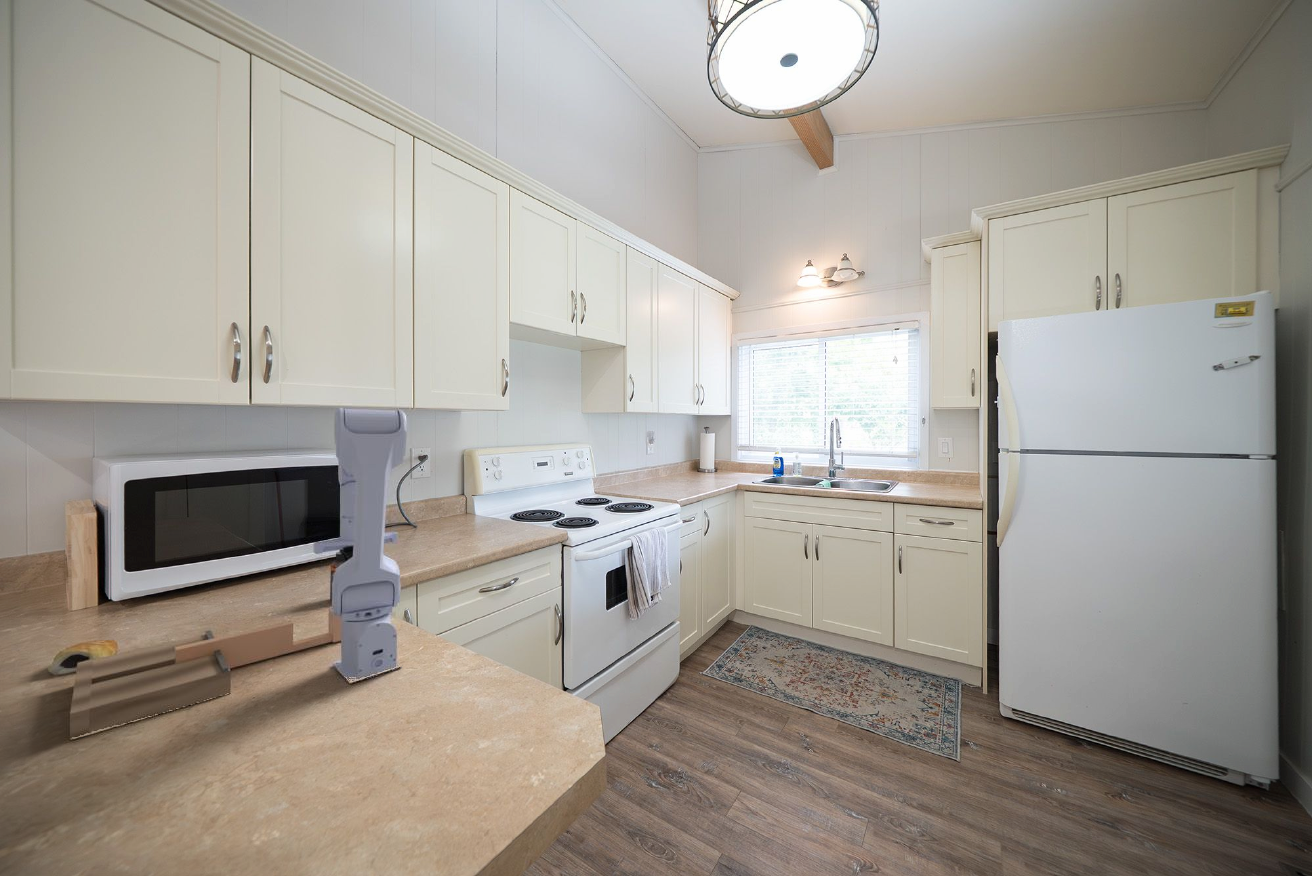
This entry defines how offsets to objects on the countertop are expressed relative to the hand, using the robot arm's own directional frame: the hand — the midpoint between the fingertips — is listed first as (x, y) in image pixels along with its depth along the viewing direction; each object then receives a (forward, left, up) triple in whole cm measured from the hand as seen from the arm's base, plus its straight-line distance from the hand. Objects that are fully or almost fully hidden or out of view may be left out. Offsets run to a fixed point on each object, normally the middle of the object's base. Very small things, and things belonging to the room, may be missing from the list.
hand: (357, 583), depth 98 cm
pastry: (+17, +36, -10) cm, 41 cm away
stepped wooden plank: (-3, +15, -9) cm, 18 cm away
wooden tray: (-3, +28, -9) cm, 30 cm away
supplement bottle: (+22, -4, -10) cm, 24 cm away
